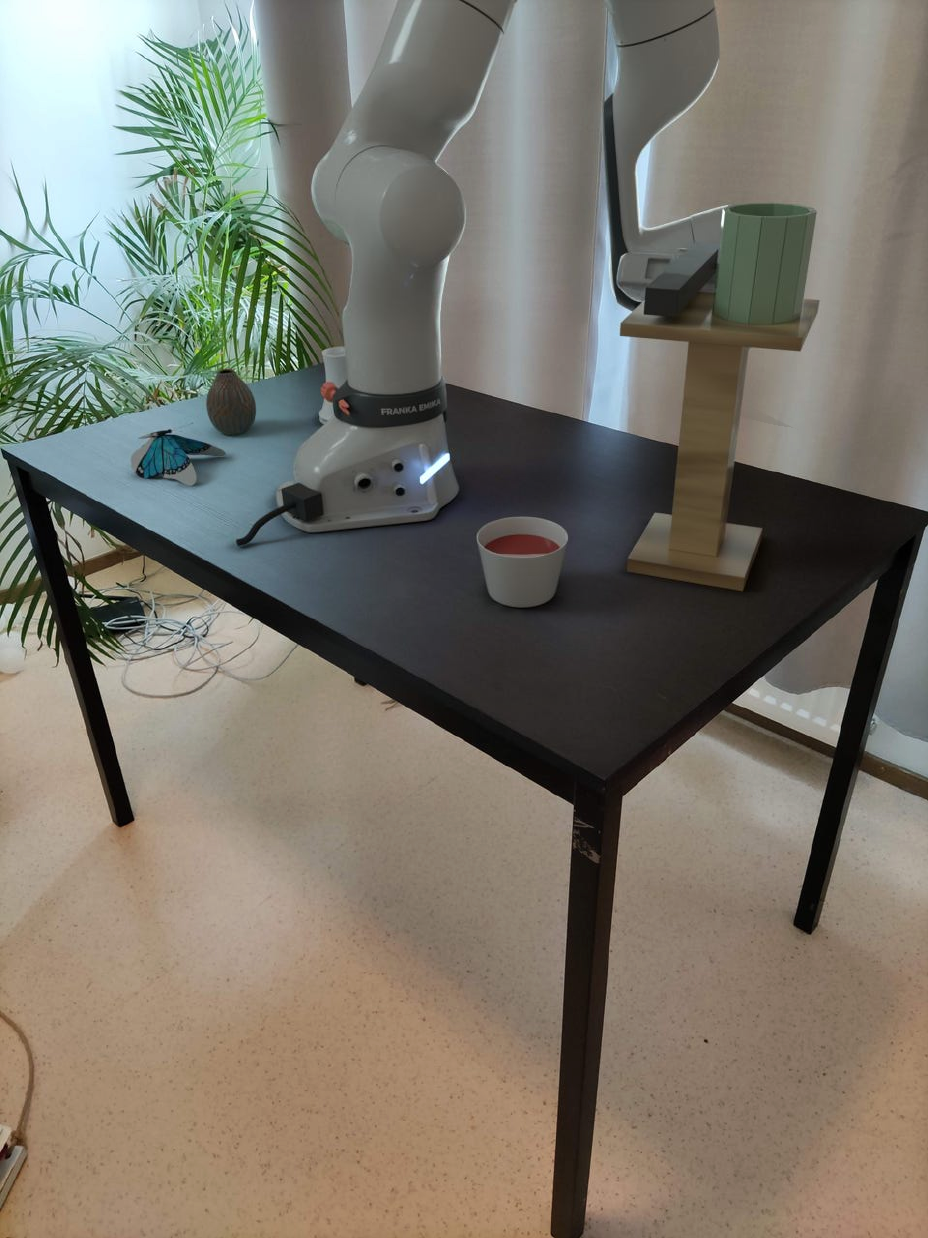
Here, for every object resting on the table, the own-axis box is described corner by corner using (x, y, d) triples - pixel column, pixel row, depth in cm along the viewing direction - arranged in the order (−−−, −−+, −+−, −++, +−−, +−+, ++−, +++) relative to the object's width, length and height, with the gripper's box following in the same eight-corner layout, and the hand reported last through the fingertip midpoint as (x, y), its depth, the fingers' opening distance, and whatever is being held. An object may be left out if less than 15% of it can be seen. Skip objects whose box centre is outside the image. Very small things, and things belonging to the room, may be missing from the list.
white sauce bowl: (500, 622, 94) (500, 565, 91) (463, 582, 101) (462, 527, 98) (582, 602, 97) (584, 545, 94) (540, 563, 104) (541, 510, 101)
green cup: (746, 328, 86) (759, 219, 81) (696, 308, 92) (706, 207, 88) (817, 317, 89) (835, 211, 84) (764, 299, 95) (777, 199, 90)
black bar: (676, 317, 87) (678, 289, 86) (643, 314, 88) (645, 287, 87) (721, 267, 104) (723, 243, 103) (693, 265, 105) (695, 241, 104)
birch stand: (761, 599, 97) (802, 337, 83) (605, 572, 102) (620, 322, 89) (780, 540, 108) (819, 299, 94) (638, 518, 113) (656, 288, 100)
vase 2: (309, 418, 145) (301, 351, 140) (349, 406, 149) (344, 340, 144) (339, 430, 140) (333, 362, 135) (380, 417, 145) (375, 350, 139)
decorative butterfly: (147, 424, 133) (210, 410, 130) (166, 467, 136) (228, 454, 133) (109, 452, 124) (176, 437, 121) (131, 497, 127) (196, 484, 124)
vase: (253, 438, 138) (245, 378, 134) (205, 439, 139) (195, 379, 134) (263, 421, 144) (255, 363, 140) (216, 422, 145) (207, 364, 140)
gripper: (634, 265, 117) (610, 221, 104) (811, 277, 110) (809, 231, 97) (624, 318, 118) (599, 280, 105) (800, 333, 111) (796, 294, 98)
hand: (702, 256), depth 101 cm, fingers closed on black bar, 3 cm apart
